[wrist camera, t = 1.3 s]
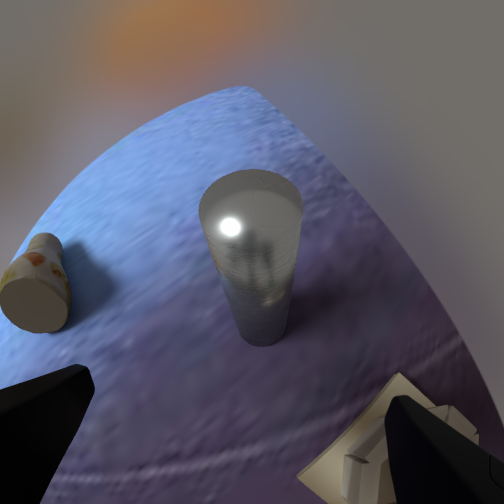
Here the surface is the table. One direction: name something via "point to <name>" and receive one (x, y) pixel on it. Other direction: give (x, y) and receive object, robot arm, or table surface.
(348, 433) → the cup bracket
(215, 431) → the table surface
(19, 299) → the flower patterned bottle
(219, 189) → the grey glossy cylinder
